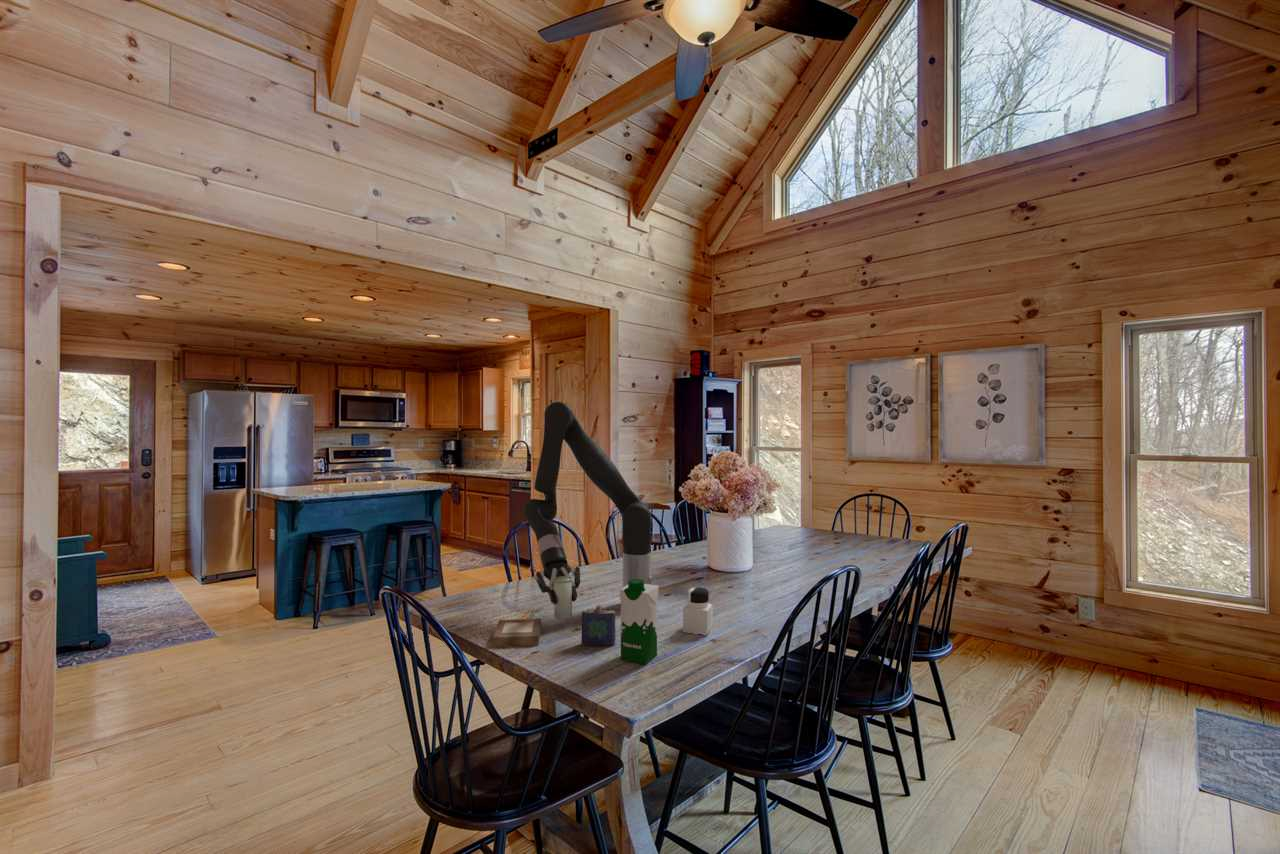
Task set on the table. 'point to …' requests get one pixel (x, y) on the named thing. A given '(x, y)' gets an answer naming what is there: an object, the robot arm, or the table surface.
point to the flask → (598, 627)
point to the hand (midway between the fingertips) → (565, 601)
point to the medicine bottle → (698, 612)
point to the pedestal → (517, 632)
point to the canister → (563, 597)
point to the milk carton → (638, 621)
